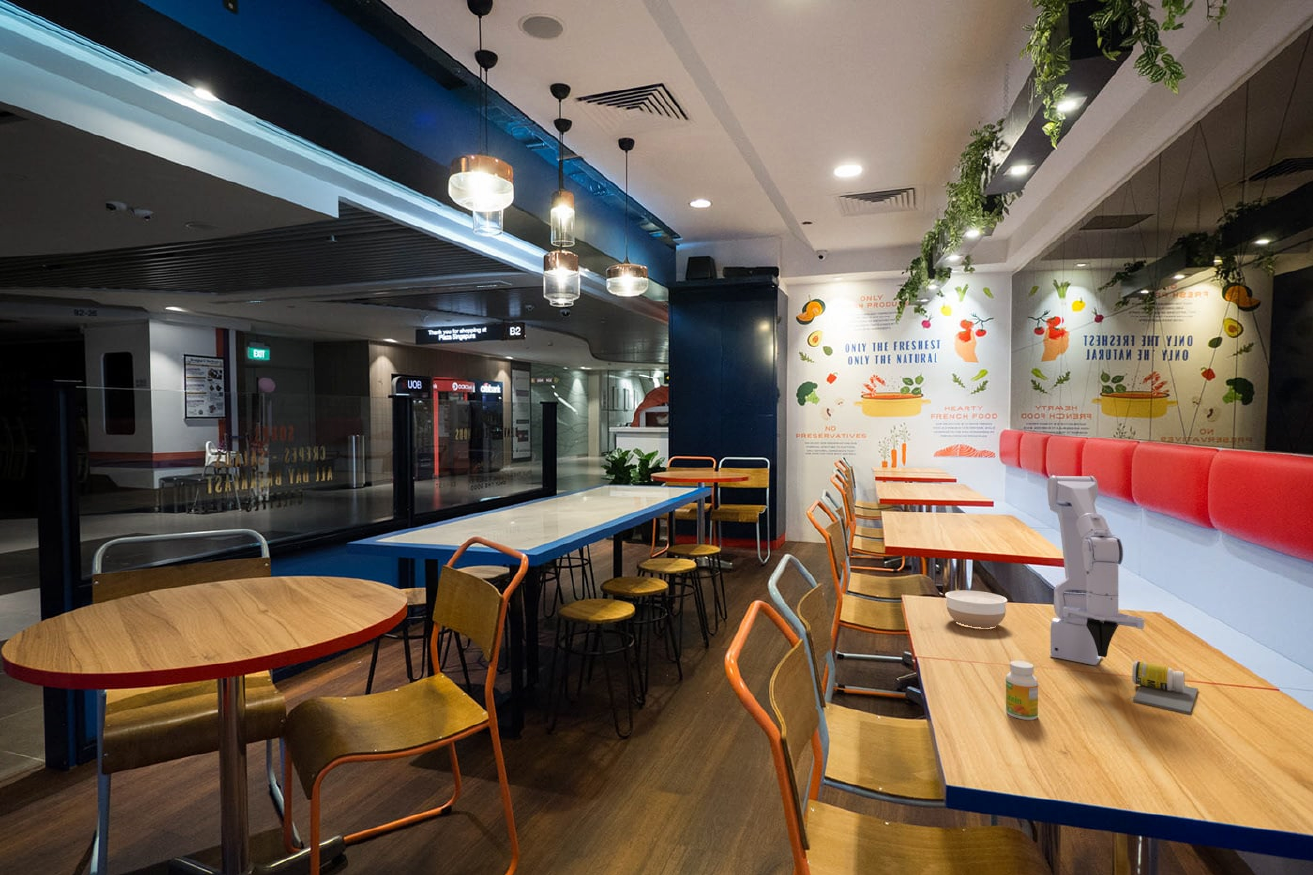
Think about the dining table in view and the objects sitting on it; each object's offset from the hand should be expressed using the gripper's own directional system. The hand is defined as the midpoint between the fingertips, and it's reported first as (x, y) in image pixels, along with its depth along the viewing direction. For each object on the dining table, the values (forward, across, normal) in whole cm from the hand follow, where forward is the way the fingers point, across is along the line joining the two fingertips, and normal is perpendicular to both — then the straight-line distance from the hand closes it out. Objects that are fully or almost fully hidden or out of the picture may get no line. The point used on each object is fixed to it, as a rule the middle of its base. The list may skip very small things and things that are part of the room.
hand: (1102, 655), depth 143 cm
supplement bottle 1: (+6, -8, -30) cm, 32 cm away
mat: (+6, +11, 0) cm, 12 cm away
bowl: (+6, -35, +29) cm, 46 cm away
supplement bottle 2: (+3, +5, +3) cm, 6 cm away
